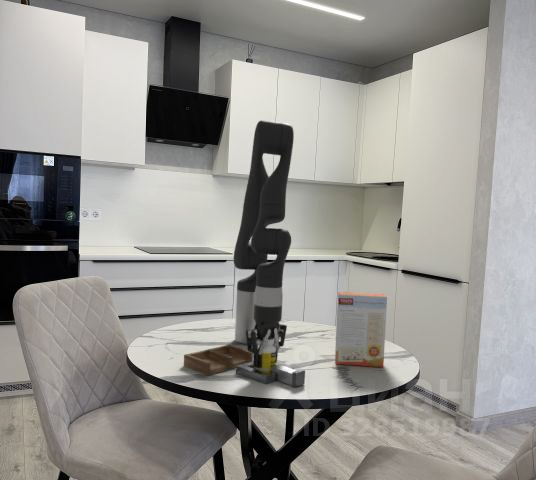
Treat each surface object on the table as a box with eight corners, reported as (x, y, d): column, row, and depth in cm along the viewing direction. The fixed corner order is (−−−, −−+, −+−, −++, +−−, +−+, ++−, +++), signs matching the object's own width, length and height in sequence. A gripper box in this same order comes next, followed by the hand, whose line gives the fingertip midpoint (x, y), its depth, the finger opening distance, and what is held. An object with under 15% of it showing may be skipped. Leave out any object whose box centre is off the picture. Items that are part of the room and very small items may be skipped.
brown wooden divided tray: (228, 355, 151) (229, 344, 151) (252, 362, 145) (253, 352, 144) (183, 366, 139) (184, 354, 139) (207, 375, 132) (207, 363, 132)
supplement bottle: (272, 378, 132) (274, 341, 131) (252, 376, 133) (254, 339, 132) (276, 372, 137) (278, 336, 137) (257, 370, 138) (258, 335, 138)
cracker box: (381, 362, 151) (385, 293, 150) (383, 368, 146) (388, 296, 144) (334, 358, 153) (338, 290, 152) (334, 364, 147) (338, 293, 146)
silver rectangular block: (280, 375, 134) (281, 362, 134) (304, 384, 128) (305, 370, 128) (271, 378, 131) (271, 365, 131) (295, 387, 126) (296, 373, 125)
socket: (263, 365, 143) (264, 358, 143) (293, 375, 136) (293, 367, 135) (235, 373, 135) (236, 365, 135) (265, 384, 127) (266, 376, 127)
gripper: (259, 308, 126) (256, 374, 127) (296, 302, 137) (293, 363, 138) (239, 303, 131) (236, 367, 132) (275, 298, 142) (272, 357, 143)
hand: (265, 364), depth 135 cm, fingers closed on supplement bottle, 5 cm apart
